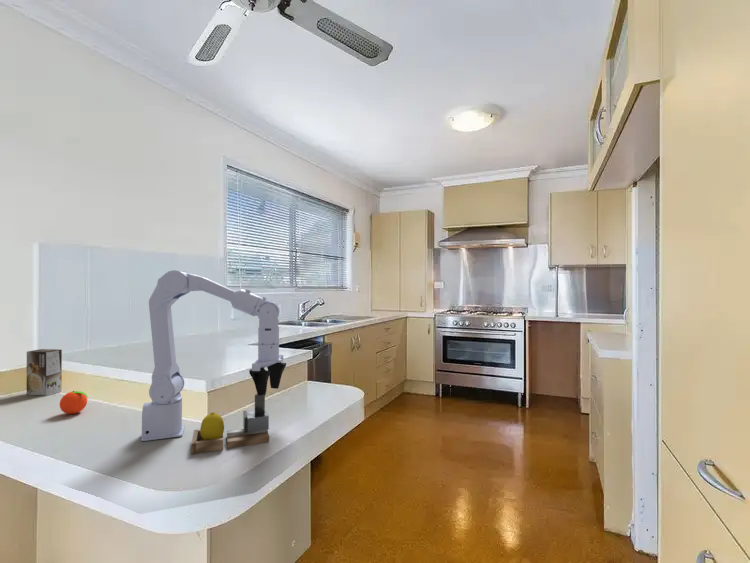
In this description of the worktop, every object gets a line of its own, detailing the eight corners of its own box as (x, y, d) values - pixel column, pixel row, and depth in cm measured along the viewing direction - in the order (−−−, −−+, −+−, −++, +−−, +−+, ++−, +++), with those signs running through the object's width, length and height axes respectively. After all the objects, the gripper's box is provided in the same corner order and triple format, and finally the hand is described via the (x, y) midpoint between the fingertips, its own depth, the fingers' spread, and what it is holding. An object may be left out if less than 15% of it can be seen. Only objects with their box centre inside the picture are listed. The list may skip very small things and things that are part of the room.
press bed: (227, 447, 96) (227, 437, 96) (226, 436, 104) (226, 427, 104) (269, 442, 100) (269, 432, 100) (265, 431, 107) (265, 422, 108)
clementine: (95, 409, 127) (96, 387, 127) (80, 417, 120) (80, 393, 120) (70, 410, 126) (70, 388, 126) (53, 417, 119) (53, 393, 119)
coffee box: (62, 391, 149) (63, 349, 149) (46, 396, 143) (46, 351, 143) (42, 390, 151) (42, 348, 151) (24, 394, 144) (25, 351, 144)
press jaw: (244, 432, 99) (244, 399, 99) (243, 425, 104) (243, 393, 104) (268, 429, 101) (268, 396, 101) (266, 422, 106) (266, 391, 107)
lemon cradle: (191, 454, 93) (191, 443, 93) (193, 439, 102) (193, 430, 102) (223, 449, 95) (223, 439, 95) (222, 436, 104) (222, 426, 104)
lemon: (215, 449, 96) (215, 416, 96) (195, 447, 97) (195, 415, 97) (228, 440, 101) (228, 409, 101) (209, 439, 102) (209, 408, 102)
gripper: (268, 347, 103) (268, 399, 103) (292, 340, 117) (292, 386, 117) (244, 346, 105) (244, 397, 105) (271, 339, 119) (270, 384, 119)
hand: (268, 391), depth 111 cm, fingers open, 7 cm apart
